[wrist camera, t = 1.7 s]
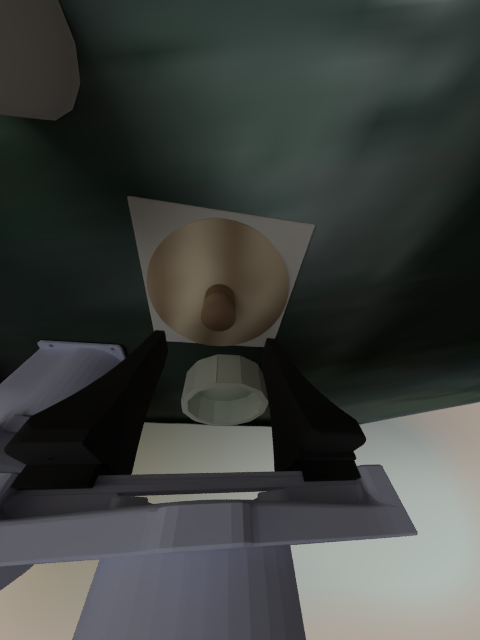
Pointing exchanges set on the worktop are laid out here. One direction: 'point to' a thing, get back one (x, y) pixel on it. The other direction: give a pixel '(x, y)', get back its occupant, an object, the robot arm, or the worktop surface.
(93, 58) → the worktop surface
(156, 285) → the lid
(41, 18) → the foam cup
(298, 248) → the mat
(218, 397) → the bowl
